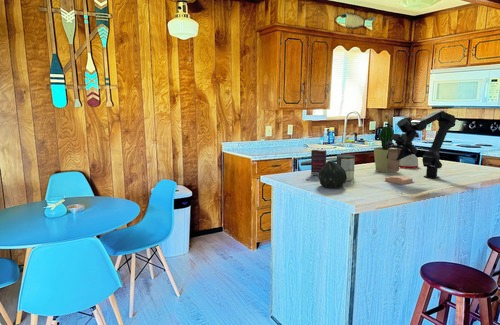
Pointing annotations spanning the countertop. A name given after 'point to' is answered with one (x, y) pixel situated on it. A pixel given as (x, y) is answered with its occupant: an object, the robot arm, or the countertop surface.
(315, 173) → the supplement box
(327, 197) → the countertop surface
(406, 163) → the knit hat
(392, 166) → the walnut block
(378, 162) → the potted cactus
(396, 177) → the top slab
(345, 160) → the coffee can
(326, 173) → the squash
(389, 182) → the bottom slab
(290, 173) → the countertop surface
